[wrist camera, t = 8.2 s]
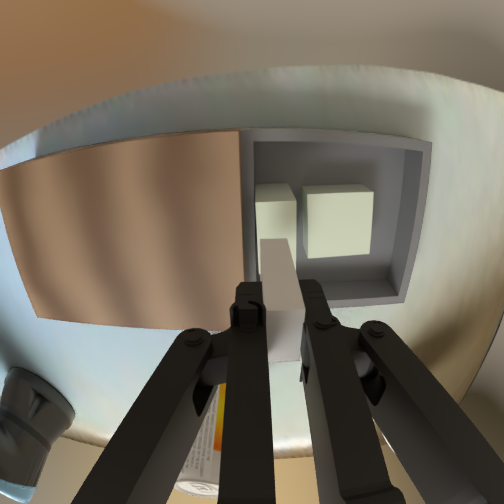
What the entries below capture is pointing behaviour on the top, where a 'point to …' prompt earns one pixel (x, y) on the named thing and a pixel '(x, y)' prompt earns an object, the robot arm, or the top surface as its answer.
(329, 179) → the box
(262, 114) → the top surface
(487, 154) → the top surface
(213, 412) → the beer can
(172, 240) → the walnut board
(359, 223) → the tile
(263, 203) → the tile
